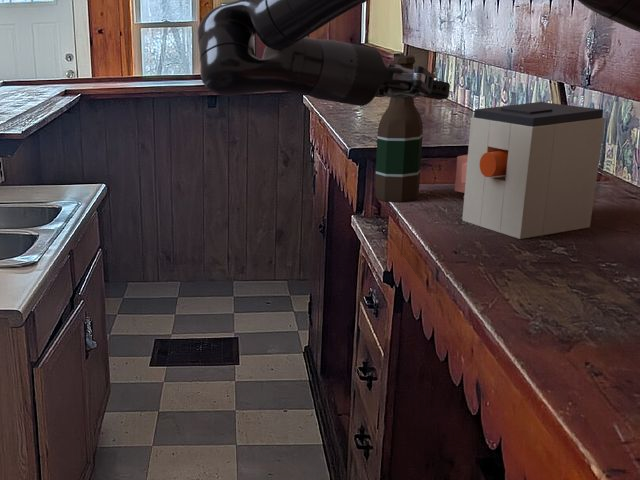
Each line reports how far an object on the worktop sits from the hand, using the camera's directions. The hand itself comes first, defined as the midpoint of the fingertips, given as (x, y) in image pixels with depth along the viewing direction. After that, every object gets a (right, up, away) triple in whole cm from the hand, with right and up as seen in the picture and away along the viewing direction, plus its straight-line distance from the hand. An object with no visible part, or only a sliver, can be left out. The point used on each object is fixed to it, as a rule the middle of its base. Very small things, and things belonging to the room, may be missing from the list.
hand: (445, 91), depth 120 cm
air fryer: (+17, -16, +13) cm, 27 cm away
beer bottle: (+2, -9, +34) cm, 35 cm away
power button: (+10, -10, +8) cm, 17 cm away
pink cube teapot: (+17, -9, +31) cm, 37 cm away
